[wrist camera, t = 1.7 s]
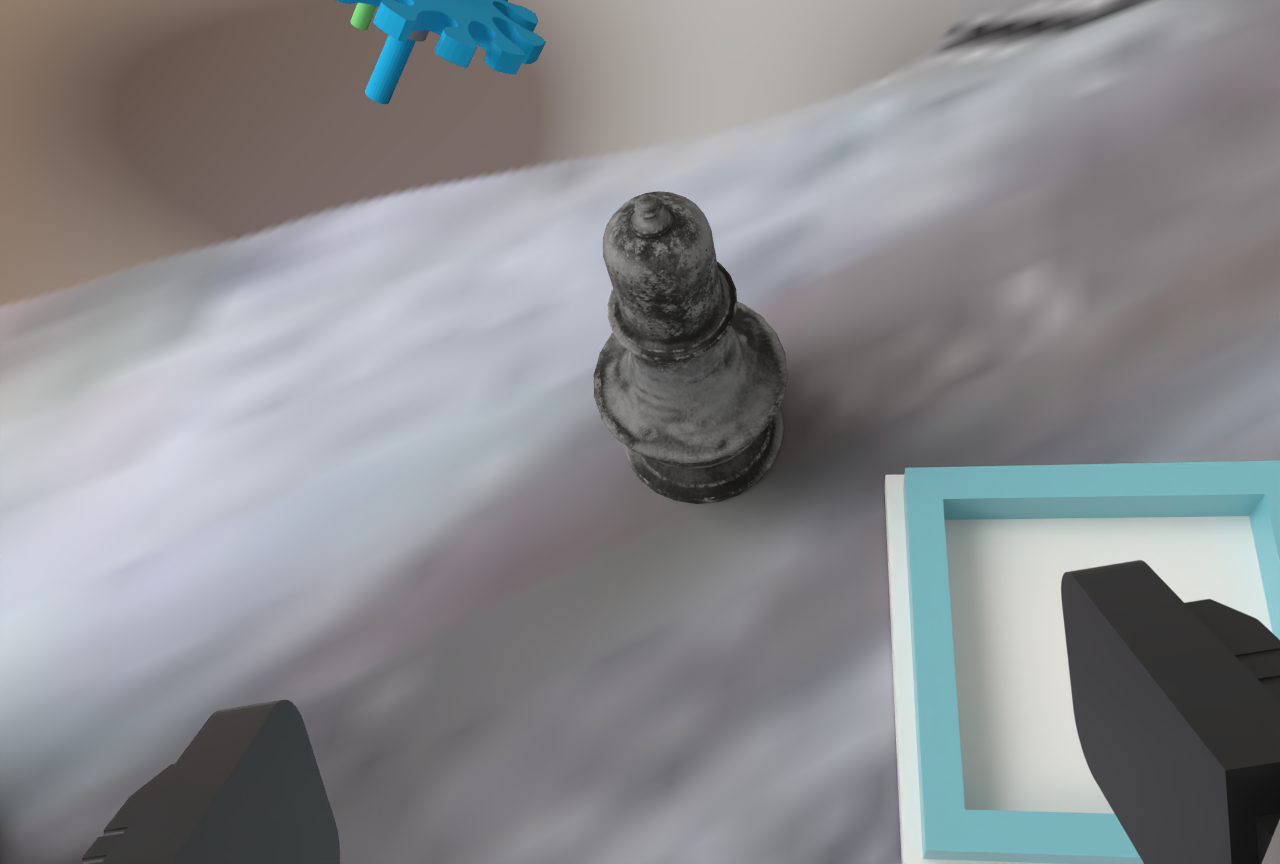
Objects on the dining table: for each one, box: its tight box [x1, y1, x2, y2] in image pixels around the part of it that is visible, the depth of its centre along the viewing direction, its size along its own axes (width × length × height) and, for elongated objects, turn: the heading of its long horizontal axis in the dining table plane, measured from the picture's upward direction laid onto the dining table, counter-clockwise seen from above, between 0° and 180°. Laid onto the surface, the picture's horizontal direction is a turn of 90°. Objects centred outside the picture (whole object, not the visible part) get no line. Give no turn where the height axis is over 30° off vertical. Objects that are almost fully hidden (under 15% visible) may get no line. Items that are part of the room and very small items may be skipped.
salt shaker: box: [594, 192, 788, 504], centre depth 33 cm, size 6×6×12 cm
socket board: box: [885, 460, 1280, 864], centre depth 31 cm, size 12×12×2 cm
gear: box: [337, 0, 546, 104], centre depth 46 cm, size 11×6×10 cm
